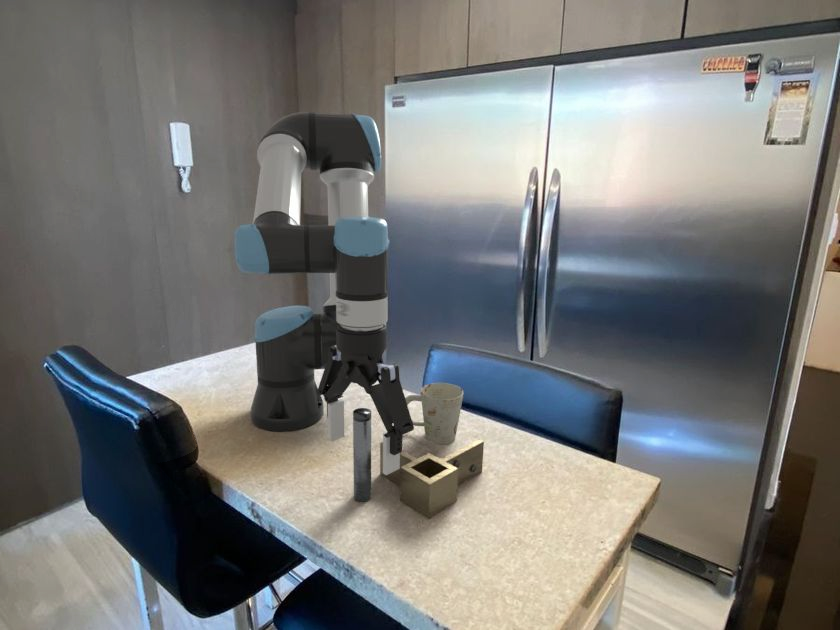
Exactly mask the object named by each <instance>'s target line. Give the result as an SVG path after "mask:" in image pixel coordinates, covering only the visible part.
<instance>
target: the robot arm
mask: <svg viewBox="0 0 840 630" xmlns="http://www.w3.org/2000/svg"><path fill="white" fill-rule="evenodd" d="M378 130H379V129H378V127H377V124H376V122H375V120H374V119H373V117H371V116H368V115H360V114H356V113H350V114H349V113H348V114H347V113H332V112H331V113H330V112H329V113H327V112H326V113H325V112H308V111H300V112H299V111H298V112H294V113H291V114H288V115H286V116H283V117H281V118H279V119H278V120H277V121H275V122H273V124H271V125H270V126H269V127H268V128H267V130H265V131H264V133H263V134H262V136H261V138H260V140H259V142H258V147H257V151H256V153H257V154H256V157H257V162H258V164H259V166H260V171H259V178H258V182H257V183H258V185H257V192H256V199H255V206H254V213H253V219H252V223H249V224H241V225H239V226H238V227H237V228H236V229H235V233H234V254H235V262H236V264H237V267H238V270H239V271H240V272H242V273H246V274H247V273H248V274H263V275H273V274H274V275H277V274H282V275H283V274H329V294H330V296H329V298H328V299H327V301H325V303H324V304H322V306H323V307H322V309H323V312H322V313H314V311H313V309H312V307H311V306H308V305H301V304H300V305H288V306H282V307H278V308H277V307H276V308H275V309H270V310H268V311H266V312H264V313H262V314H260V315H259V316H258V317H257V318H256V321H255V323H254V338H253V340H254V341H253V342H255V354H256V355H255V356H256V374H257V386H256V389H255V393H254V396H253V400H252V402H251V403H252V404H251V407H250V419H251V422H252V423H253V425H255V427H258V428H260V429H263V430H268V431H271V432H272V431H275V432H287V431H295V430H301V429H305V428H308V427H310V426H313V425H314V424H316V423H318V422H319V421H320V420H321V419H322V418H323V416H324V413H325V412H324V407H325V406H324V402H326V417H327V433H328V438H327V439H328V441H329V442H330V443H331V442H334V441H337V440H340V439H342V438H343V437H345V401H344V399H341V398H344V396H343V395H344V393H345V392H346V390H347V389H348V388H349V386H350V385H351V384H357V385H358V386H359V387H361V388H363V389H364V392H365V393H366V394H368V395H370V398H371V399H372V400H371V401H372V403H373V404H374V406H375V409H376V411H377V413H378V415H379V417H380V420H381V422H382V424H383V426H384V428H385V432H382V442H383V474H385V475H388V474H390V473H392V472H394V471H396V470H398V469H400V453H401V452H402V451H403V435H406V434H409V433H410V432H412V431H414V429H415V426H414V425H413V422H412V420H413V419H412V416H411V413H410V410H409V405H407V403H406V399H405V398H406V397H405V393H404V389H403V386H402V383H401V379H400V367H399V365H398V364H397V363H393V364H391V365H389V364H385V363H384V359H383V354H384V352H385V351H386V350H387V348H388V326H387V324H386V323H387V322H388V321H389V320H388V315H389V314H388V312H389V311H388V304H389V303H388V300H389V299H388V268H389V267H388V263H389V261H388V260H389V259H388V257H389V256H388V255H389V246H390V239H389V231H388V223H387V221H386V220H385V219H384V218H380V217H375V216H369V193H368V192H369V188H368V187H369V185H371V183H372V182H374V180H375V173H377V172H380V170H381V169H382V155H381V153H382V152H381V150H382V148H381V142H380V134H379V131H378ZM304 170H307V171H308V170H310V171H319V179H320V180H321V182H323V184H325V185H326V187H327V218H328V219H327V221H328V224H327V225H318V224H316V225H309V224H308V225H306V224H304V225H303V224H302V225H301V209H302V208H301V203H302V201H301V199H302V173H303V171H304ZM315 370H323V372H322V375H321V378H320V381H319V385H317V383H316V379H315ZM377 381H378V383H377ZM322 395H323V398H322ZM323 400H324V401H323Z"/></svg>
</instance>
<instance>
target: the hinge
mask: <svg viewBox="0 0 840 630" xmlns="http://www.w3.org/2000/svg"><path fill="white" fill-rule="evenodd" d="M484 443H485V442H484V440H482V439H476V440H474V442H472V443H469V444H467V445H466V446H464V447H462V448H460V449H457V450H456V451H454V452H452V453H451V454H448V455H446V456H445V457H443V458H439V457H437V456H435V455H433V454H432V453H426V454H424V455H422V456H421V457H418V458H416V457H414V456H412V455H411V454H409V453H408V452H405V451H404V450H402V452H401V453H400V469H398V470H396V471H394V472H392V473H390V474H388V475H385V474H383V441H381V442H380V443H379V458H380V459H379V475H381V476H382V477H384V478H386V479H387V480H389V482H390V481H391V483H393V484H394V485H395V484H396V485H397V486H399V487H400V488H399V501H400V502H401V503H403V504H404V505H406V506H408V507H409V508H411V509H412V510H413V511H416V512H417V513H418V514H420V515H422V516H423V517H425V518H426V519H427V520H430V519H431V518H433V517H434V516H437V515H438V514H439V513H441V512H442V511H444V510H446V509H448V508H449V507H451V506H452V505H454V504H455V503H457V497H458V496H457V495H458V487H459V486H460V485H462V484H464V483H466V482H467V481H469V480H471V479H472V478H474V477H476V476H477V475H480V473H483V463H484V461H483V460H484V458H483V457H484V448H485V447H484V446H485V445H484Z"/></svg>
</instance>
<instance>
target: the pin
mask: <svg viewBox="0 0 840 630" xmlns="http://www.w3.org/2000/svg"><path fill="white" fill-rule="evenodd" d="M352 427H353V428H352V433H353V434H352V438H353V439H352V440H353V442H352V447H353V448H352V450H353V452H352V453H353V456H352V459H353V500H354V501H355V502H357V503H361V504H362V503H367V502H369V501H370V500H372V410H371V409H369V408H366V407H359V408H356V409H354V410H353V411H352Z"/></svg>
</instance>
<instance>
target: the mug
mask: <svg viewBox="0 0 840 630" xmlns="http://www.w3.org/2000/svg"><path fill="white" fill-rule="evenodd" d="M463 398H464V390H463V389H462V388H461V387H460V386H459V385H456V384H453V383H447V382H432V383H429V384H425V385H424V386H422V387H421V389H420V394H409V395H408V396H406V397H405V399H406V403H407V406H409V404H410V403H411V402H421V409H422V410H421V411H422V415H423V416H422V418H423V421H415V420H413V419H412V422H413V426H414V427H423V428H424V429H423V430H424V437H425V439H426V440H427V441H428V442H430V443H433V444H437V445H445V444H446V445H448V444H450V443H453V442H454V441H455V439H456V437H457V431H458V425H459V421H460V414H461V410H462V405H463V404H462V403H463V400H464V399H463Z"/></svg>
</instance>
